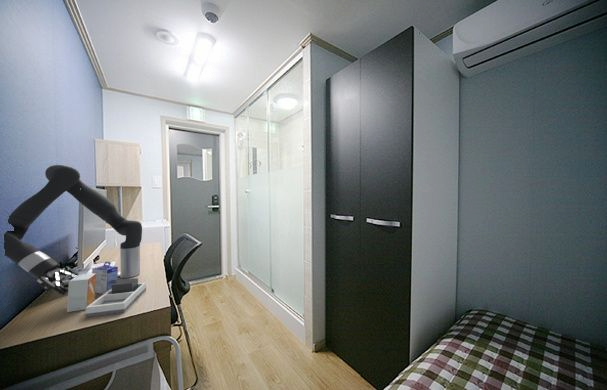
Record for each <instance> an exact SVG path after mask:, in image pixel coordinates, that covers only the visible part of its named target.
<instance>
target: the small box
mask: <svg viewBox="0 0 607 390" xmlns="http://www.w3.org/2000/svg"><path fill="white" fill-rule="evenodd" d="M95 284H96V273H93V274H92V273H83V274H79V275H77V276H76V277H74V278H73V279H72V280H70V281H68V288H67V289H68V292H67V305H66V313H71V312H78V311H84V310H86V307H87V306H89V305H90V304H91V303H93V302H94V301H95V300H96V299H95V298H96V293H95Z"/></svg>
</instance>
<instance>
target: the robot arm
mask: <svg viewBox="0 0 607 390" xmlns="http://www.w3.org/2000/svg"><path fill="white" fill-rule="evenodd" d="M44 174H45V177H46V179H47V180H48V181H47V183H46V184H45V185H44V186H43V187H42V188H41V189H40V190H39V191H37V192H36V193H34V194H33V195H32V196H30V197H28V198H27V199H25V200H24V201H23V202H22V203H21V204H19V205H18V206H17V207H16V208H15V209H14V210H13V211H11V213H10V214H11V215H10V214H9V215H10V216H9V215H8V216H9V219H8V223H9V224H11V225H12V226H13V227H14V231H7V232H6V233H5V234H4V241H5V242H4V249H5V255H4V256H5V257H7V258H9V259H10V260H11V261H12V262H14V263H15V264H17V265H18V266H20V267H21V269H23V270H25V271H26V272H27V273H28V274H30V275H31V276H33V277H34V278H36V279H37V280H36V281H35V284H36V285H38V286H39V287H40V288H42V289H43V290H45V291H46V292H51V291H56V293H58V294H60V295H62V296H65V295H66V294H68V288H66V287H65V286H63V285H62V284H61V283H60V282H61V281H68V282H69V281H70V280H72V279H73V278H74V277H76V276H77V275H80V274H79V272H77V271H75V270H74V269H73V268H71V267H70V266H65V267H64V268H61V267H60V265H61V263H59V262H57V260H55V259H53V258H52V257H50V256H49V255H48V254H46V253H45V252H42V251H41V250H39V249H38V248H36V247H35V246H33V245H32V244H30V243H27V242H23V241H22V239H23V238H24V236H25V235H26V233H27V231H28V230H29V228H30V227H31V226H32V224H33V223H34V222H36V220H37V219H38V218H39V216H41V214H43V212H45V210H46V209H47V208H48V207H49V206H50V205H51V204H53V203H54V202H55V201H56V200H57V199H58V198H59V197H61V196H62V195H63V194H64V193H65V192H67V193H68V194H70V196H72V197H73V198H74V199H76V200H77V201H78V202H79V203H80V204H81V205H83V206H84V207H85V208H86V209H87V210H88V211H90V212H91V213H92V214H94V215H96V216H97V217H98V218H100V219H101V220H102V221H104V222H106V223H107V224H108V225H109V226H111V228H112V229H113V230H114V231H115V232H116V233H117V234H119V235H121V236H123V237H124V236H125V241H123V242H121V243H120V246H119V247H120V251H119V253H120V255H119V257H120V258H119V259H120V261H119V263H120V265H119V267H120V272H119V273H120V278H121V279H130V278H134V277H136V276H137V277H138V276H139V275H140V274H141V242H142V236H143V227H142V223H141V222H140V221H138V220H130V219H126V218H125V217H123V216H122V215H121V214H119V213H118V211H117V208H116V205H115V204H114V203H113V202H112V201H111V200H110V199H109V198H107V197H106V196H105V195H104V194H102V193H101V192H99V191H98V190H96V189H94V188H93V187H90V186H89V185H87V184H86V183H84V182H83V181H82V180H81V174H80V172H79V171H78V169H76V168H74V167H72V166H68V165H62V164H54V165H50V166H49V167H47V168H46V170H45V171H44ZM80 188H81V190H80ZM8 223H7V224H8Z"/></svg>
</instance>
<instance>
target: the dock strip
mask: <svg viewBox="0 0 607 390" xmlns="http://www.w3.org/2000/svg"><path fill="white" fill-rule="evenodd" d="M146 291H147V282H139V278H138V277H136V278H123V279H118V281H117V282H115V283H114V284H112V289H110V290H109V291H108V292H106V293H105V294H102V295H101V296H100V297H98V298H97V299H95V300H94V302H93V303H91V304H90V305H89V306H87V307H86V309H85V318H92V317H100V315H101V316H108V315H107V314H109V315H115V314H114V313H116V314H123V313H126V312H127V311H128V310H129V308H130V307H132V305H134V303H135V302H136V301H137V300H139V298H140V297H141V296H142V295H143V294H144V293H145V292H146Z"/></svg>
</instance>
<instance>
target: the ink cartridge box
mask: <svg viewBox="0 0 607 390" xmlns="http://www.w3.org/2000/svg"><path fill="white" fill-rule="evenodd" d="M111 264H112V262H110V261H105V262H104V264H103V265H100V266H97V267H94V268H92V270H91V271H92V272H91V274H93V273H96V284H95V294H102V295H104V294H105V293H106V292H108V291H109V290H110V289H112V284H114V283H115V282H117V281H118V280H119V279H118V278H119V277H118V275H119V274H118V273H119V272H118V270H119V269H118V268H119V267H118V266H113V265H111Z"/></svg>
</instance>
